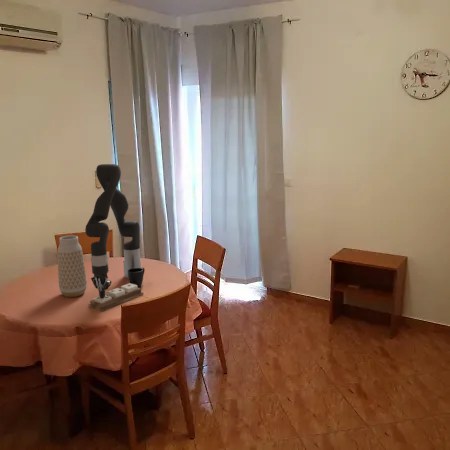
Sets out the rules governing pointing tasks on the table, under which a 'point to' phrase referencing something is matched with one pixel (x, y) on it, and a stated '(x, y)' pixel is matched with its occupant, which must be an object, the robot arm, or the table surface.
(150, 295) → the table surface
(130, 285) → the tile one
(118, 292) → the tile two
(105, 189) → the robot arm
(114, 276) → the table surface
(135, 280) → the mug
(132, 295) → the board
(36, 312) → the table surface
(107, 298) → the tile three
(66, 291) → the vase
